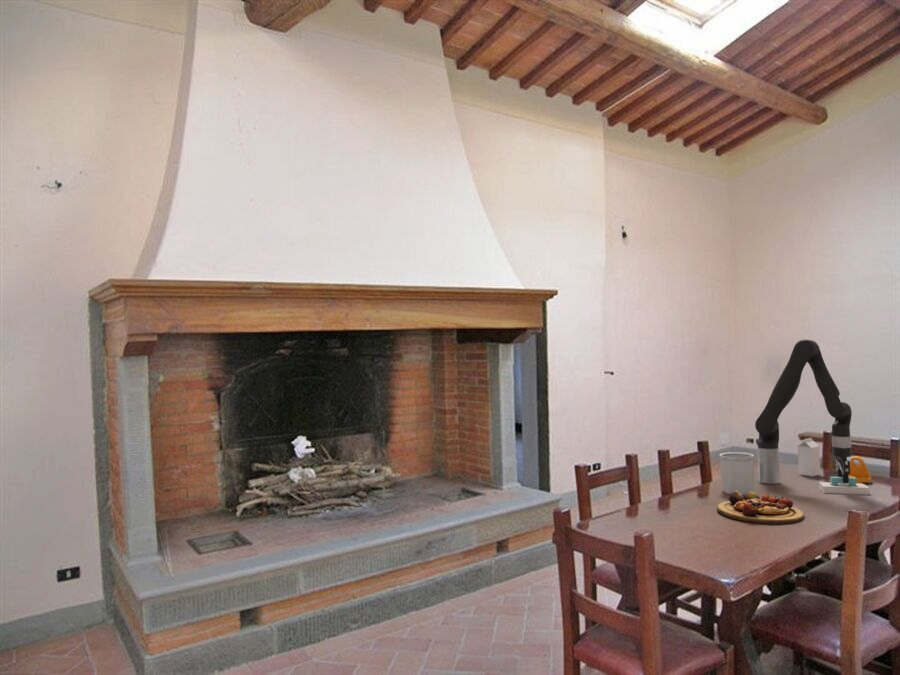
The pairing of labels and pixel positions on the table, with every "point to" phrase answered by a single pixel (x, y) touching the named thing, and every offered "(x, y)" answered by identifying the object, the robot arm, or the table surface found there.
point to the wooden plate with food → (760, 509)
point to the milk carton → (808, 458)
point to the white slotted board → (844, 488)
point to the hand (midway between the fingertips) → (843, 480)
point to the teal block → (840, 480)
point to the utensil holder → (737, 472)
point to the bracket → (859, 470)
